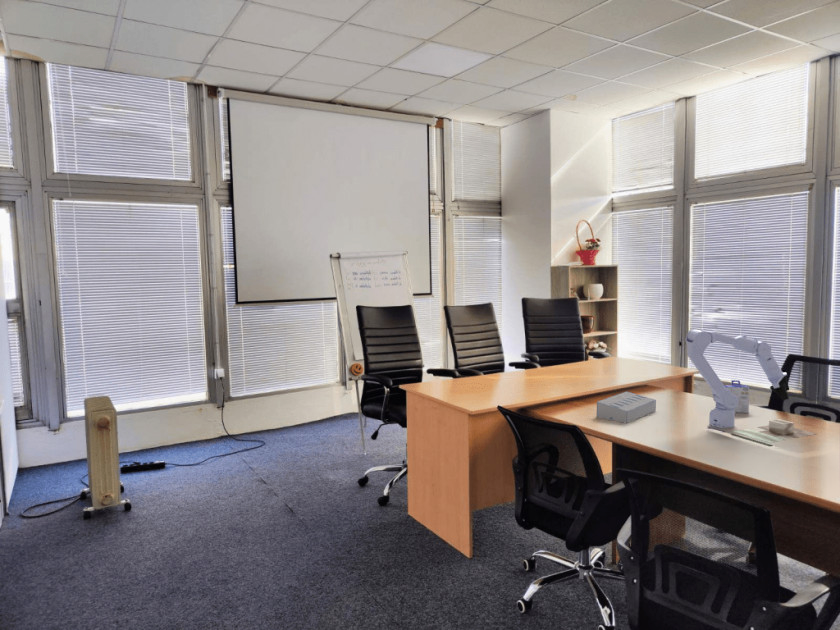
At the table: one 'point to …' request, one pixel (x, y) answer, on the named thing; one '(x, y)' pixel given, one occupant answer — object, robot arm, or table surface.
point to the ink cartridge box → (740, 396)
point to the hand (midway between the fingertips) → (786, 394)
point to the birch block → (781, 426)
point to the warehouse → (625, 407)
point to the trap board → (770, 435)
